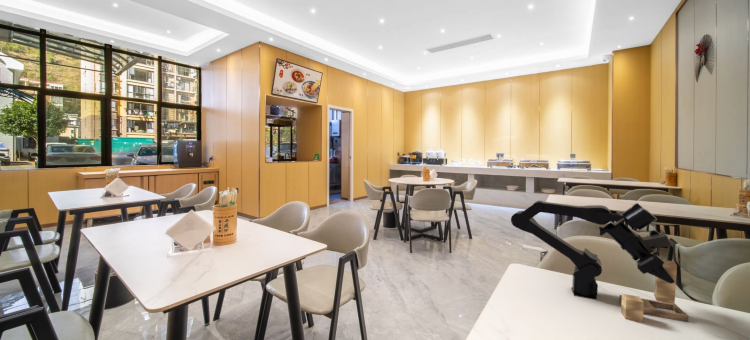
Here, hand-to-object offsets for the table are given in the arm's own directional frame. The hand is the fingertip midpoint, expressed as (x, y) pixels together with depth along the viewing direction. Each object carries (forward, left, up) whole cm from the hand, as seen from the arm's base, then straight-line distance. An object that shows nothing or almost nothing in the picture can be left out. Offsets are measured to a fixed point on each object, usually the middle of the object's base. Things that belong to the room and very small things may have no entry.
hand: (671, 280), depth 90 cm
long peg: (-1, 0, -7) cm, 7 cm away
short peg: (-11, -8, -10) cm, 17 cm away
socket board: (-4, 0, -10) cm, 11 cm away
